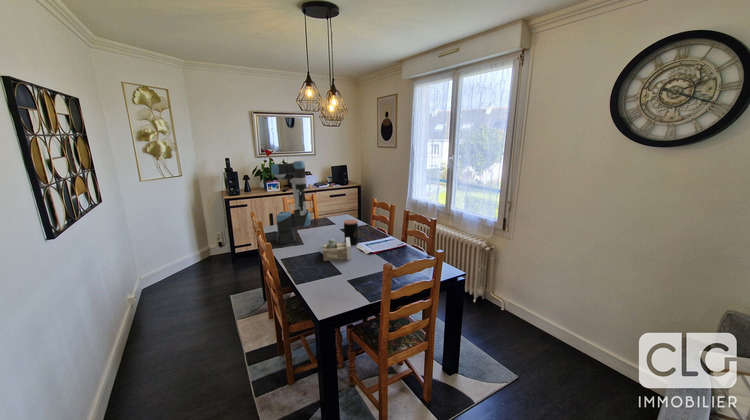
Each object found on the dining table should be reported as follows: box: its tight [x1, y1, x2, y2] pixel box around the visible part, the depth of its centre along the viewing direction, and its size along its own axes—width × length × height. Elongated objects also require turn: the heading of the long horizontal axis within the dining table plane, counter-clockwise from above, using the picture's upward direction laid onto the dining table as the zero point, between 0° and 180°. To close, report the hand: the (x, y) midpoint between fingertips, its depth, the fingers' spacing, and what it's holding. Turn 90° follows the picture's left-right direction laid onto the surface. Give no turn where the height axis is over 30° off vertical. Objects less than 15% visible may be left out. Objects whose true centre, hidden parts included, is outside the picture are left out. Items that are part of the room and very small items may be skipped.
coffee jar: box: [343, 219, 360, 246], centre depth 225 cm, size 11×11×18 cm
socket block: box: [322, 241, 347, 262], centre depth 204 cm, size 14×16×7 cm
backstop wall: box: [346, 237, 352, 261], centre depth 204 cm, size 18×3×10 cm, turn 8°
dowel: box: [328, 238, 336, 249], centre depth 203 cm, size 4×4×10 cm
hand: (303, 212), depth 210 cm, fingers open, 13 cm apart
